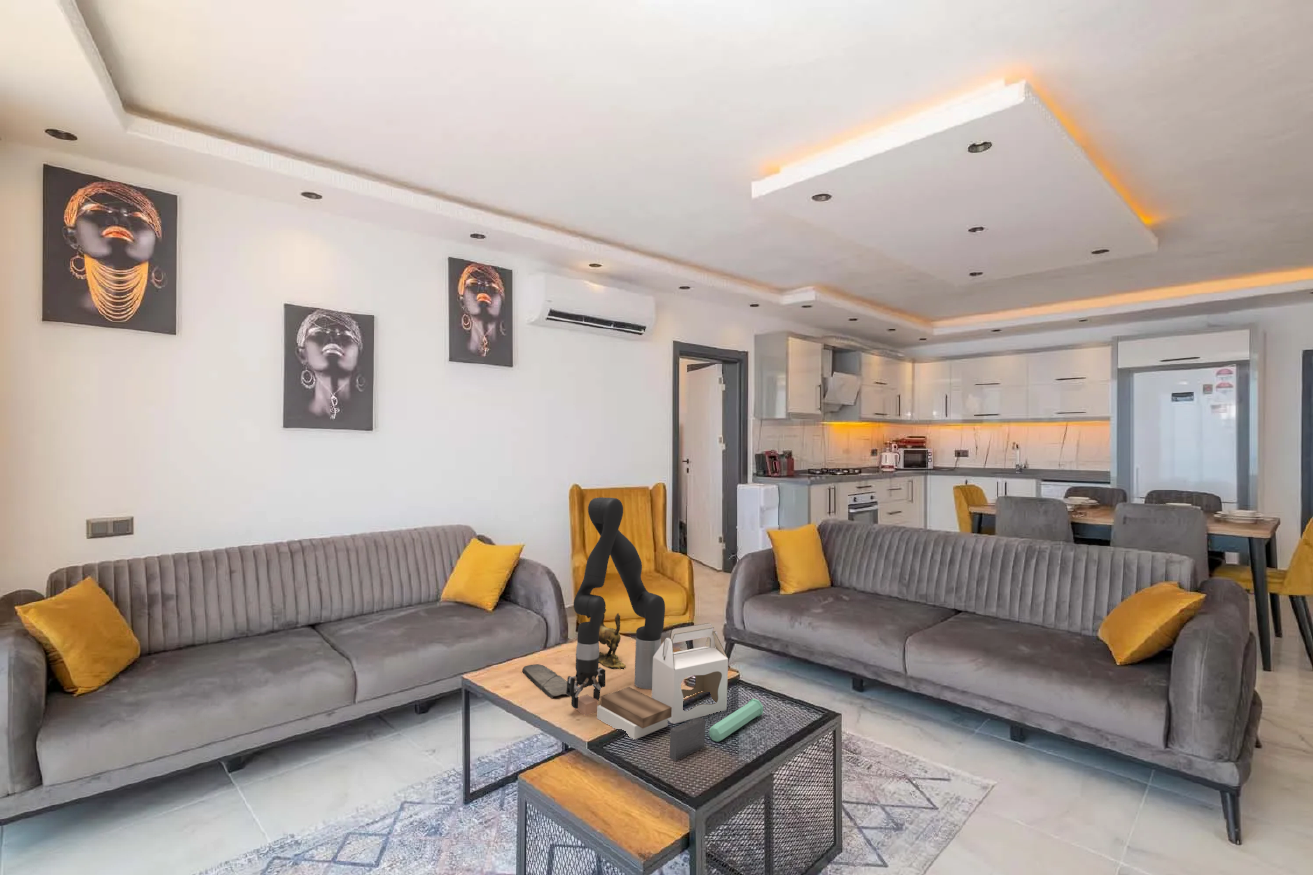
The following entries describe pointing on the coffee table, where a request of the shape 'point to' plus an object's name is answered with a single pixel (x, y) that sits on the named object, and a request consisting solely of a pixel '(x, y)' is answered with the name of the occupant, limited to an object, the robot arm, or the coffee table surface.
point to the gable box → (690, 672)
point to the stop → (687, 738)
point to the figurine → (610, 644)
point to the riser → (627, 723)
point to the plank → (636, 707)
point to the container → (736, 720)
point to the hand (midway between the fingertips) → (585, 704)
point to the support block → (587, 704)
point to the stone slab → (546, 680)
